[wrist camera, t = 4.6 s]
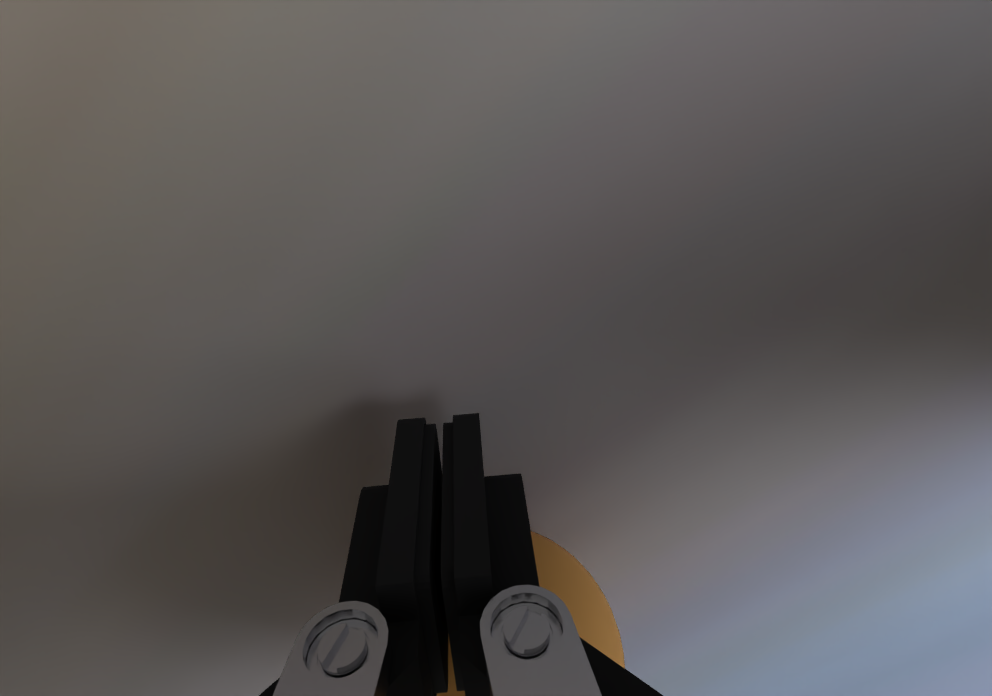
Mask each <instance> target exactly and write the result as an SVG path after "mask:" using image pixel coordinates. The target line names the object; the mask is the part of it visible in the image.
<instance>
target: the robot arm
mask: <svg viewBox="0 0 992 696" xmlns="http://www.w3.org/2000/svg"><path fill="white" fill-rule="evenodd" d="M448 634H449V641H450V647H451V654H452V661H453V668H454V675H455V682H456V689H457V691H465V696H663V695H662V694H660V693H659V692H657V691H656V690H654V689H653V688H652V687H650V686H649V685H647V684H646V683H644V682H643V681H642V680H640V679H639V678H637V677H636V676H635V675H633V674H632V673H630V672H629V671H627V670H626V669H625V668H623V667H622V666H620V665H619V664H617V663H616V662H615V661H613V660H612V659H610V658H609V657H607V656H606V655H605V654H603V653H602V652H600V651H599V650H597V649H596V648H595V647H593V646H592V645H590V644H589V643H588V642H586V641H585V640H583V639H582V638H580V637H579V634H578V632H577V629H576V626H575V624H574V621H573V618H572V616H571V613H570V612H569V610H568V608H567V606H566V605H565V603H564V602H563V601H562V600H561V599H560V598H559V597H558V596H557V595H556V594H555V593H553V592H551V591H549V590H547V589H545V588H543V587H540V586H539V580H538V574H537V568H536V562H535V555H534V549H533V543H532V537H531V531H530V524H529V518H528V512H527V506H526V500H525V493H524V487H523V481H522V476H521V474H510V475H499V476H487V477H484V471H483V458H482V445H481V433H480V420H479V413H476V414H464V415H453V422H452V423H443V465H442V468H441V461H440V453H439V445H438V437H437V429H436V424H427V425H426V420H425V418H415V419H403V420H398V423H397V429H396V436H395V444H394V451H393V458H392V466H391V473H390V480H389V485H383V486H371V487H363V489H362V490H361V494H360V498H359V503H358V508H357V513H356V518H355V523H354V528H353V533H352V538H351V544H350V549H349V554H348V559H347V564H346V569H345V574H344V579H343V584H342V589H341V595H340V600H339V603H337V604H334V605H332V606H329V607H327V608H325V609H323V610H322V611H320V612H319V613H317V614H316V615H314V616H313V617H312V618H311V619H310V620H309V621H308V622H307V623H306V624H305V626H304V627H303V628H302V630H301V631H300V633H299V635H298V637H297V638H296V640H295V642H294V645H293V647H292V650H291V652H290V655H289V657H288V659H287V662H286V664H285V667H284V669H283V672H282V674H281V676H280V678H279V679H278V680H276V681H275V682H274V683H273V684H272V685H271V686H269V687H268V688H267V689H266V690H265V691H264V692H262V693H261V694H260V695H259V696H437V693H446V692H448Z"/></svg>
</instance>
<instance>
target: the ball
mask: <svg viewBox="0 0 992 696" xmlns="http://www.w3.org/2000/svg"><path fill="white" fill-rule="evenodd" d="M531 537H532V543H533V549H534V555H535V562H536V568H537V574H538V580H539V586H540V587H543V588H545V589H547V590H549V591H551V592H553V593H555V594H556V595H557V596H558V597H559V598H560V599H561V600H562V601H563V602H564V603H565V605H566V606H567V608H568V610H569V612H570V613H571V616H572V618H573V621H574V624H575V626H576V629H577V632H578V634H579V637H580V638H582V639H583V640H585V641H586V642H588V643H589V644H590V645H592V646H593V647H595V648H596V649H597V650H599V651H600V652H602V653H603V654H605V655H606V656H607V657H609V658H610V659H612V660H613V661H615V662H616V663H617V664H619V665H620V666H622V667H623V668H625V664H624V654H623V648H622V643H621V638H620V633H619V630H618V628H617V625H616V622H615V619H614V616H613V613H612V610H611V608H610V606H609V604H608V602H607V600H606V598H605V596H604V594H603V593H602V591H601V589H600V588H599V586H598V584H597V583H596V582H595V580H594V579H593V577H592V576H591V575H590V573H589V572H588V571H587V570H586V569H585V568H584V567H583V565H582V564H581V563H580V562H579V561H578V560H577V559H576V558H575V557H574V556H572V555H571V554H570V553H569V552H567V551H566V550H565V549H564V548H562V547H561V546H559V545H558V544H556V543H555V542H553V541H551V540H550V539H548V538H546V537H544V536H542V535H539V534H537V533H535V532H532V531H531ZM437 696H465V691H457V689H456V682H455V675H454V668H453V661H452V654H451V647H450V641H449V634H448V692H446V693H437Z"/></svg>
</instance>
